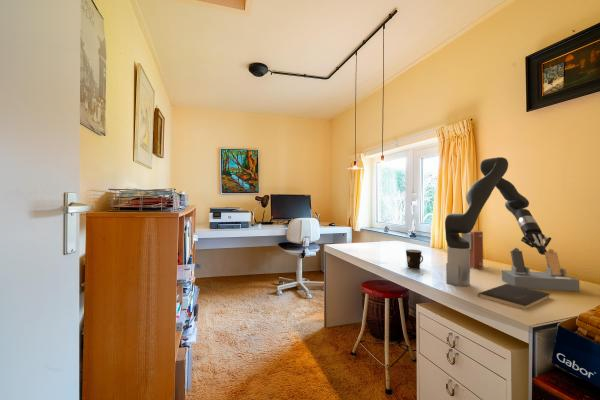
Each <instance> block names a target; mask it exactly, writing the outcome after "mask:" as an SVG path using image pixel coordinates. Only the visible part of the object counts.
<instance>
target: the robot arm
mask: <svg viewBox="0 0 600 400" xmlns="http://www.w3.org/2000/svg"><path fill="white" fill-rule="evenodd" d="M479 165H480V166H479V169H480V172H481V174H482V175H483V177H482V178H481V177H480V178H479V179H478V180H476V181H475V182H474V183H473V184H472V185H471V186H470V188H469V189H468V191H467V193H466V194H465V195H466V197H465V199H466V201H467V204H468V208H467V210H466V211H465V212H464V213H456V212H455V213H452V212H451V213H449V214H447V215H446V218H445V221H444V228H445V229H444V230H445V241H446V247H447V248H446V249H447V253H446V258H447V259H446V260H447V262H446V265H445V267H446V269H445V270H446V272H445V274H446V277H445V279H446V283H447V284H450V285H454V286H457V287H467V286H470V284H471V280H470V279H471V276H470V275H471V274H470V273H471V272H470V271H471V269H470V268H471V267H470V244H469V242H468V241H466V240H464V239H463V238H461V235H460V234H461V233H464V234H466V233H469V232H471V231H472V230H474V227H475V225H476V223H477V221H478V218H479V216H480V213H481V212H482V210H483V207H484V206H485V204H486V203H487V201H488V200H489V198H490V196H491V194H492V193H493V191H494V190H495V188H496V189H497V190H498V192H499V193H500V194H501V195H502V197H503V199H504V200H505V201H506V202H505V203H504V206H505V208H506V209H507V211H509V213H511V214H512V215H513V216H514V218H515V219H516V221H517V224H518V227H519V229H520V230H521V232H522V234H523V236H522V238H521V239H520V241H521V242H523V243H524V244H526V245H527V246H529V247H530V248H532V249H533V248H535V249H536V250H537V252H538V253H539V254H540V255H542V256H543V255H544V256H545V252H547V247H548V245H549V244H550V242H551V241H552V237H550V236H549V237H547V236H546V235H545V234H543V232H542V229H541V227H540V226H539V224H538V223H537V221H536V219H535V218H534V216H533V215H532V212H530V210H528V209H527V208H528V207H529V205H530V202H529V200H528V199H527V197H525V196H523V194H521V193H520V192H519V191H518V190H517V188H516V186H515V185H514V184H513V183H512V182H511V181H509V180H507V179H506V178H503V177H504V176H505V174H506V173H507V171H508V168H509V161H508V159H507V158H505V157H503V156H502V157H500V156H499V157H497V156H496V157H492V158H484V159H483V160H482V161H481V162H480V164H479Z"/></svg>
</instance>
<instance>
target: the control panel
mask: <svg viewBox="0 0 600 400" xmlns="http://www.w3.org/2000/svg"><path fill="white" fill-rule="evenodd" d="M483 233H484V232H483V231H481V230H475V229H472V231H471V232H469V233H466V234H464V233H460V234H461V235H460V237H461V238H463V239H464V240H466V241H468V242H469V244H470V268H471V269H483V268H484V248H483V247H484V240H483V239H484V236H483V235H484V234H483Z"/></svg>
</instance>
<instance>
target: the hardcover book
mask: <svg viewBox="0 0 600 400" xmlns="http://www.w3.org/2000/svg"><path fill="white" fill-rule="evenodd" d="M477 294H478V295H477V297H479V298H483V299H487V300H490V301H494V302H497V303H500V304H505V305H507V306H511V307H516V308H518V309H523V310H526V309H529V308H531V307H532V306H535V305H537V304H539V303H541V302H543V301H545V299H546V300H547V298H548V299H549V298H550V296H551V295H552V294H551V293H549V292H544V291H540V290H537V289H527V288H523V287H518V286H514V285H509V284H508V283H504V284H502V285H499V286H495V287H492V288H489V289H486V290H483V291H479V292H478V293H477Z"/></svg>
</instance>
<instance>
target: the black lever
mask: <svg viewBox="0 0 600 400" xmlns="http://www.w3.org/2000/svg"><path fill="white" fill-rule="evenodd" d="M509 253H510V257H511V262H512V266H514V267H516V268H517V273H526V270H525V267H526V266H525V261H524V256H523V255H524V254H523V251H522V250H520V249H519V248H518V247H514V248H512V250H510V252H509Z"/></svg>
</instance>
